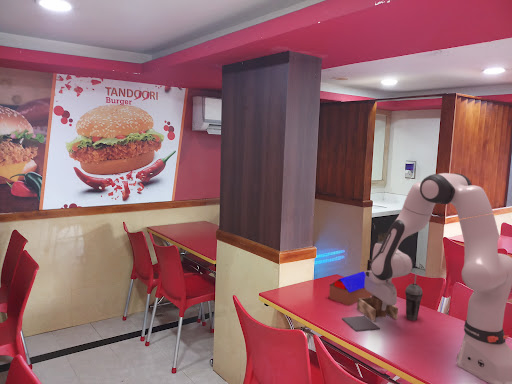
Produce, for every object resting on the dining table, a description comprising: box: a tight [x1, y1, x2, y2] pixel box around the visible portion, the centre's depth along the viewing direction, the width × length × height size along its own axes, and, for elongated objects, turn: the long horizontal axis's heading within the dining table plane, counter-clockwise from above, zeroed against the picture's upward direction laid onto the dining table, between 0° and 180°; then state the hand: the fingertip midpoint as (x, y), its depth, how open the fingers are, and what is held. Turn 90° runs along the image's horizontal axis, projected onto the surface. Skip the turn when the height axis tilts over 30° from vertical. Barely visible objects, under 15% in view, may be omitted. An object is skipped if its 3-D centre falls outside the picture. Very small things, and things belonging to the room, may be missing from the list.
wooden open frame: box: [356, 296, 399, 322], centre depth 187 cm, size 14×12×5 cm
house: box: [328, 271, 372, 306], centre depth 205 cm, size 12×20×12 cm, turn 132°
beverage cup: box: [404, 273, 423, 321], centre depth 183 cm, size 7×7×20 cm
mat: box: [341, 315, 381, 332], centre depth 176 cm, size 12×11×1 cm
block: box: [371, 296, 388, 319], centre depth 185 cm, size 5×5×8 cm
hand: (378, 307), depth 186 cm, fingers closed on block, 5 cm apart
